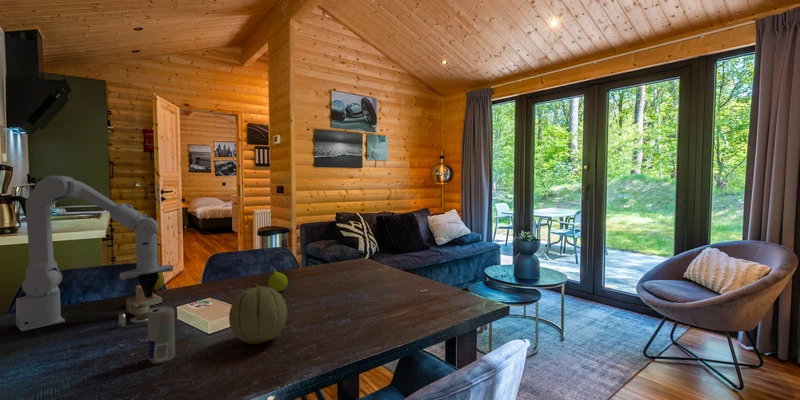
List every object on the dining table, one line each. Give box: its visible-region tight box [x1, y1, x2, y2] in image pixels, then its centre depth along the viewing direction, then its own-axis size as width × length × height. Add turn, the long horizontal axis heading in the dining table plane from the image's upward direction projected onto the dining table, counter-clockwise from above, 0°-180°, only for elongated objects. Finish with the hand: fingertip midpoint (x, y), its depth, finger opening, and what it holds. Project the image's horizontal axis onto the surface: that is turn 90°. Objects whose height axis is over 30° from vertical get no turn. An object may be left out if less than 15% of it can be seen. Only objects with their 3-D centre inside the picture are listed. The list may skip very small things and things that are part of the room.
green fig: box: [267, 266, 289, 293], centre depth 147 cm, size 7×7×10 cm
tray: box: [140, 293, 163, 307], centre depth 130 cm, size 8×8×2 cm
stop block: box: [135, 284, 155, 302], centre depth 130 cm, size 4×4×6 cm
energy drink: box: [147, 305, 176, 364], centre depth 90 cm, size 5×5×12 cm
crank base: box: [118, 312, 148, 329], centre depth 114 cm, size 10×6×4 cm, turn 143°
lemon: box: [153, 272, 165, 291], centre depth 146 cm, size 6×6×8 cm
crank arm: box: [125, 296, 150, 319], centre depth 118 cm, size 12×4×4 cm, turn 53°
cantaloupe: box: [228, 283, 288, 345], centre depth 101 cm, size 15×15×15 cm
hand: (148, 296), depth 123 cm, fingers closed
